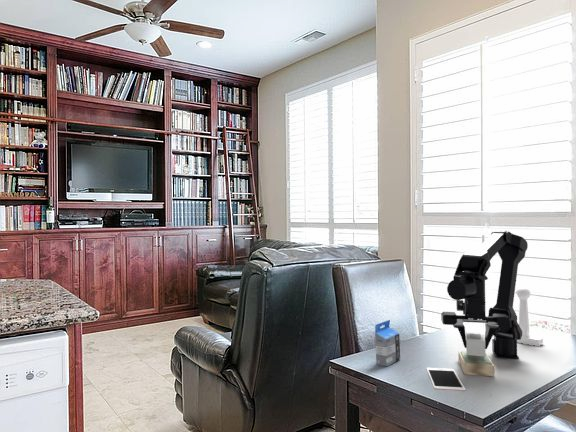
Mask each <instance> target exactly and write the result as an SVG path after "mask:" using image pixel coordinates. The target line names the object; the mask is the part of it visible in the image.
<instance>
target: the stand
mask: <svg viewBox="0 0 576 432" xmlns="http://www.w3.org/2000/svg"><path fill="white" fill-rule="evenodd" d="M458 362H459V365H460V368H461V370H462V372H463V375H469V376H483V377H495V375H496V372H495V370H496V369H495V368H496V366H495V364H494V363H493V361H492V360H491V358H490V357H489V355H488V354H487V353H486V357H484V356H474V355H467V350H466V351H465V350H459V351H458Z"/></svg>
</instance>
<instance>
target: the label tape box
mask: <svg viewBox="0 0 576 432" xmlns="http://www.w3.org/2000/svg"><path fill="white" fill-rule="evenodd" d="M390 321H391V320H390V319H388V320H386V321H382V322H380V323H379V322H378V323H377V324H375V326H374V335H375V336H374V337H375V338H374V340H375V341H374V342H375V364H376V365H378V366H382V367H388V366H391V365H393V364H394V363H396V362H398V361H400V360H401V348H400V347H401V345H400V344H401V342H400V341H401V340H400V333H399V332H397V331H396V330H394V329H393V328H391V327H390V325H391V324H390V323H391V322H390Z"/></svg>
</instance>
